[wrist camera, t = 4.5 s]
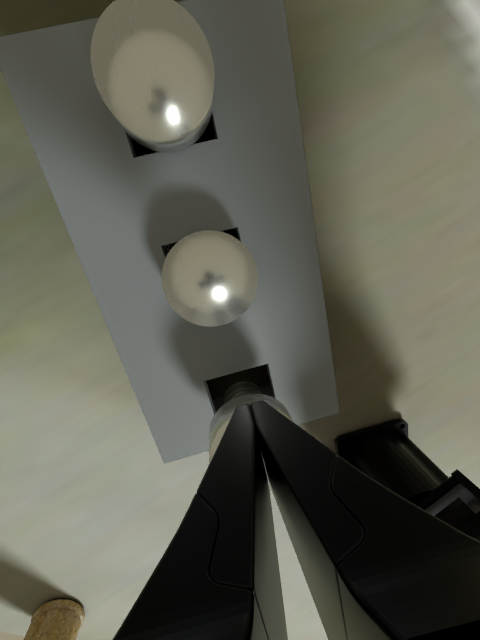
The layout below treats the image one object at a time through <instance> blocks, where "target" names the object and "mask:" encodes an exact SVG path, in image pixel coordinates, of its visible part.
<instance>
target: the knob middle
mask: <svg viewBox="0 0 480 640" xmlns="http://www.w3.org/2000/svg"><path fill="white" fill-rule="evenodd" d="M162 288H163V291H164V294H165V297H166V299H167V301H168V303H169V304H170V306H171V307H172V309H173V310H174V311H175V312H176V313H177V314H178V315H180V316H181V317H182V318H184V319H185V320H187V321H189V322H191V323H193V324H197V325H200V326H208V327H213V326H221V325H225V324H228V323H230V322H232V321H234V320H236V319H237V318H239V317H240V316H241V315H242V314H244V313H245V311H246V310H247V309H248V308H249V307H250V305H251V304H252V302H253V300H254V298H255V295H256V292H257V288H258V270H257V266H256V263H255V260H254V258H253V256H252V254H251V253H250V251H249V250H248V249H247V247H246V246H245V245H244V244H243V243H242V242H240V241H239V240H238V239H236V238H235V237H233V236H231V235H229V234H227V233H224V232H220V231H213V230H204V231H199V232H195V233H192V234H190V235H188V236H186V237H184V238H183V239H181V240H180V241H178V242H177V243H176V244H175V245H174V246H173V248H172V249H171V250H170V252H169V253H168V255H167V257H166V259H165V261H164V264H163V268H162Z"/></svg>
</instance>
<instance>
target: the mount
mask: <svg viewBox="0 0 480 640" xmlns="http://www.w3.org/2000/svg"><path fill="white" fill-rule="evenodd" d="M177 3H178V4H180V5H181V6H182V7H184V8H185V9H186V10H187V11H188V12H189V13H190V14H191V15H192V17H193V18H194V19H195V20H196V22H197V23H198V25H199V26H200V28H201V29H202V31H203V33H204V35H205V37H206V39H207V41H208V44H209V47H210V50H211V53H212V57H213V63H214V74H215V79H214V94H213V108H212V114H211V120H212V125H213V129H214V134H215V138H216V139H214V140H210V141H205V142H201V143H197V144H192V145H191V146H189V147H188V148H185V149H183V150H180V151H177V152H157V153H152V154H148V155H144V156H139V157H136V154H135V151H134V148H133V145H132V141H131V138H130V135H128V134H127V132H126V131H125V130H124V129H123V128H122V126H121V125H120V124H119V122H118V121H117V119H116V118H115V117H114V115H113V114H112V113H111V111H110V110H109V109H108V107H107V106H106V104H105V103H104V101H103V99H102V97H101V95H100V93H99V91H98V89H97V86H96V84H95V80H94V77H93V73H92V67H91V55H90V52H91V41H92V36H93V32H94V29H95V26H96V24H97V22H98V20H99V18H100V17H97V18H92V19H87V20H82V21H77V22H72V23H67V24H62V25H57V26H52V27H47V28H42V29H37V30H32V31H27V32H21V33H16V34H11V35H6V36H1V37H0V68H1V71H2V73H3V76H4V78H5V81H6V83H7V85H8V88H9V90H10V93H11V95H12V97H13V100H14V102H15V105H16V107H17V110H18V112H19V114H20V117H21V119H22V122H23V124H24V126H25V129H26V131H27V134H28V136H29V138H30V141H31V143H32V146H33V148H34V151H35V153H36V155H37V158H38V160H39V163H40V165H41V167H42V170H43V172H44V175H45V177H46V180H47V182H48V184H49V187H50V189H51V192H52V194H53V196H54V199H55V201H56V204H57V206H58V208H59V211H60V213H61V216H62V218H63V221H64V223H65V225H66V228H67V230H68V233H69V235H70V237H71V240H72V242H73V245H74V247H75V250H76V252H77V254H78V257H79V259H80V262H81V264H82V266H83V269H84V271H85V274H86V276H87V278H88V281H89V283H90V286H91V288H92V291H93V293H94V295H95V298H96V300H97V303H98V305H99V307H100V310H101V312H102V315H103V317H104V320H105V322H106V324H107V327H108V329H109V332H110V334H111V336H112V339H113V341H114V344H115V346H116V348H117V351H118V353H119V356H120V358H121V361H122V363H123V365H124V368H125V370H126V373H127V375H128V377H129V380H130V382H131V385H132V387H133V390H134V392H135V394H136V397H137V399H138V402H139V404H140V406H141V409H142V411H143V414H144V416H145V419H146V421H147V423H148V426H149V428H150V431H151V433H152V435H153V438H154V440H155V443H156V445H157V447H158V450H159V452H160V455H161V457H162V460H163V462H164V463H168V462H171V461H175V460H178V459H182V458H185V457H189V456H192V455H196V454H199V453H203V452H206V451H209V427H210V423H211V420H212V418H213V416H214V415H215V413H216V412H217V411H218V409H219V408H220V407H221V406H223V405H224V397H223V398H219V399H215V400H212V398H211V395H210V392H209V389H208V386H207V382H206V380H210V379H214V378H217V377H221V376H225V375H228V374H232V373H235V372H239V371H243V370H246V369H250V368H254V367H257V366H261V365H265V364H266V365H267V370H268V374H269V379H270V383H271V384H269V385H266V386H262V387H259V389H260V391H261V393H262V394H264V395H268V396H271V397H273V398H275V399H277V400H278V401H280V402H281V403H282V404H283V405H284V406H285V407H286V409H287V410H288V412H289V414H290V416H291V418H292V420H293V422H294V423H295V424H296V425H300V424H304V423H307V422H311V421H314V420H318V419H321V418H324V417H328V416H331V415H335V414H338V413H340V410H339V402H338V395H337V388H336V380H335V373H334V365H333V358H332V351H331V343H330V336H329V329H328V321H327V314H326V306H325V299H324V292H323V284H322V277H321V270H320V262H319V255H318V248H317V240H316V233H315V225H314V218H313V211H312V203H311V196H310V189H309V181H308V174H307V166H306V159H305V152H304V144H303V137H302V130H301V122H300V115H299V107H298V100H297V93H296V85H295V78H294V71H293V63H292V56H291V49H290V41H289V34H288V26H287V19H286V12H285V4H284V0H184V1H179V2H177ZM233 228H236V232H237V236H238V240H239V241H240V242H242V243H243V244H244V245H245V246H246V247H247V249H248V250H249V251H250V253H251V254H252V256H253V258H254V260H255V263H256V266H257V270H258V288H257V292H256V295H255V298H254V300H253V302H252V304H251V305H250V307H249V308H248V309H247V310H246V311H245V313H244V314H242V315H241V316H240V317H239V318H237V319H236V320H234V321H232V322H230V323H228V324H225V325H221V326H213V327H208V326H200V325H197V324H193V323H191V322H189V321H187V320H185V319H184V318H182V317H181V316H180V315H178V314H177V313H176V312H175V311H174V310H173V309H172V307H171V306H170V304H169V303H168V301H167V299H166V297H165V294H164V291H163V288H162V268H163V264H164V261H165V259H166V257H167V254H166V251H165V247H164V245H167V244H171V243H175V242H178V241H180V240H181V239H183V238H184V237H186V236H188V235H190V234H192V233H195V232H199V231H204V230H213V231H225V230H229V229H233Z"/></svg>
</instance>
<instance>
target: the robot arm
mask: <svg viewBox="0 0 480 640" xmlns="http://www.w3.org/2000/svg"><path fill="white" fill-rule="evenodd" d="M341 442H342V443H341ZM335 444H336V451H337V454H336V453H334V452H333V451H332V450H330V449H329V448H328V447H326V446H325V445H324V444H322V443H321V442H319V441H318V440H317V439H315V438H314V437H313V436H311V435H310V434H309V433H307V432H306V431H304V430H303V429H302V428H300V427H299V426H298V425H296V424H295V423H294V422H292V421H291V420H290V419H288V418H287V417H285V416H284V415H283V414H281V413H280V412H279V411H277V410H276V409H275V408H273V407H272V406H270V405H269V404H268V403H266V402H265V401H264V400H259V401H255V402H252V403H251V404H250V405H249V404H244V405H240V406H237V407H236V408H235V411H234V413H233V415H232V417H231V419H230V421H229V423H228V426H227V428H226V430H225V432H224V434H223V436H222V438H221V441H220V443H219V445H218V447H217V449H216V451H215V453H214V456H213V458H212V460H211V462H210V464H209V466H208V468H207V470H206V473H205V475H204V477H203V479H202V481H201V483H200V485H199V488H198V490H197V494H195V496H194V498H193V500H192V502H191V504H190V507H189V509H188V511H187V513H186V515H185V517H184V518H183V520H182V522H181V524H180V526H179V528H178V530H177V532H176V534H175V536H174V537H173V539H172V541H171V543H170V544H169V546H168V548H167V550H166V551H165V553H164V555H163V557H162V558H161V560H160V562H159V563H158V565H157V567H156V568H155V570H154V572H153V573H152V575H151V577H150V578H149V580H148V582H147V583H146V585H145V587H144V588H143V590H142V592H141V593H140V595H139V597H138V599H137V600H136V602H135V604H134V605H133V607H132V609H131V610H130V612H129V614H128V615H127V617H126V619H125V620H124V622H123V624H122V625H121V627H120V629H119V630H118V632H117V633H116V635H115V636H114V638H113V640H288V638H287V630H286V622H285V613H284V605H283V597H282V589H281V581H280V573H279V564H278V556H277V548H276V540H275V532H274V524H273V516H272V507H271V499H270V491H269V484H268V480H269V483H270V486H271V488H272V491H273V494H274V496H275V499H276V502H277V504H278V507H279V510H280V512H281V515H282V518H283V520H284V523H285V526H286V528H287V531H288V534H289V536H290V539H291V542H292V544H293V547H294V549H295V552H296V555H297V557H298V560H299V563H300V565H301V568H302V571H303V573H304V576H305V579H306V581H307V584H308V587H309V589H310V592H311V595H312V597H313V600H314V603H315V605H316V608H317V610H318V613H319V616H320V618H321V621H322V624H323V626H324V629H325V632H326V634H327V637H328V640H480V489H479V488H478V487H477V486H476V485H475V484H473V483H472V482H471V481H470V480H469V479H468V478H466V477H465V476H464V475H463V474H462V473H461V472H460V471H458V470H455V471H454V472H453V473H452V474H451V475H452V476H451V477H448V476H447V475H446V474H444V473H443V472H442V471H441V470H440V469H439V468H438V467H437V466H436V465H435V464H434V463H433V462H432V461H431V460H430V459H429V458H428V457H427V456H426V455H425V454H424V453H423V452H422V451H421V450H420V449H419V448H418V447H417V446H416V445H415V444H414V443H413V442H412V441H411V440H410V439H409V438H408V424H407V422H406V421H404V420H403V419H397V420H393V421H390V422H386V423H383V424H380V425H376V426H373V427H369V428H366V429H363V430H359V431H356V432H352V433H349V434H345V435H342V436H339V437H337V438H336V440H335ZM263 460H264V461H263ZM264 464H265V465H264ZM266 472H267V474H266ZM267 476H268V478H267Z"/></svg>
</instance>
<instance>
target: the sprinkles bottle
mask: <svg viewBox="0 0 480 640" xmlns="http://www.w3.org/2000/svg"><path fill="white" fill-rule="evenodd" d="M84 616H85V613H84V610H83V608H82V607H81V606H80V605H79V604H78V603H76V602H74V601H71V600H68V599H67V600H61V599H58V600H52V601H50V602H47V603H45V604H43V605H42V606H40V607H39V608H38V609H37V610H36V611H35V613H34V615H33V617H32V619H31V624H30V626H29V629H28V631H27V633H26V636H25V638H24V640H76V637H77V634H78V631H79V628H80V626H81V625H82V623H83V621H84Z"/></svg>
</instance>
